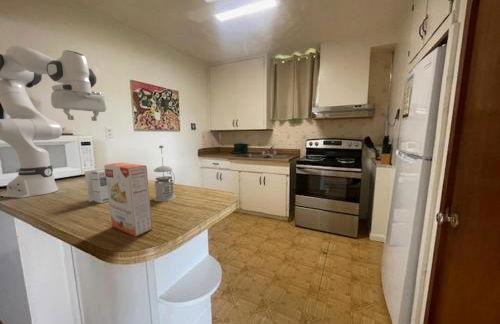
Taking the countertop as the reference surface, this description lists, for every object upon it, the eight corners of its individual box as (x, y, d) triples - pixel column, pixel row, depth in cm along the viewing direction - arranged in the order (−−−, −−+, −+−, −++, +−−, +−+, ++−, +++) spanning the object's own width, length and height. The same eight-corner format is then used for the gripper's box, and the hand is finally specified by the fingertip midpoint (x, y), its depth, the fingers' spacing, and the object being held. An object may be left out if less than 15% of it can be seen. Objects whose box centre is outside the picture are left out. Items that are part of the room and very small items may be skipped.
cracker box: (110, 227, 67) (102, 164, 64) (129, 220, 72) (123, 161, 69) (134, 238, 60) (127, 167, 57) (153, 229, 65) (147, 164, 62)
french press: (149, 200, 94) (144, 146, 91) (166, 193, 105) (162, 144, 102) (166, 202, 92) (162, 146, 88) (182, 194, 102) (179, 144, 99)
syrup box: (101, 203, 91) (97, 171, 89) (94, 201, 94) (90, 170, 92) (114, 199, 96) (111, 169, 94) (107, 198, 99) (104, 168, 97)
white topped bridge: (101, 203, 90) (98, 172, 88) (88, 200, 95) (84, 171, 93) (134, 194, 104) (131, 167, 102) (121, 192, 109) (118, 166, 107)
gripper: (99, 93, 104) (102, 121, 106) (46, 85, 86) (51, 119, 88) (107, 92, 101) (110, 121, 103) (54, 84, 83) (59, 118, 85)
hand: (83, 120), depth 95 cm, fingers open, 8 cm apart
